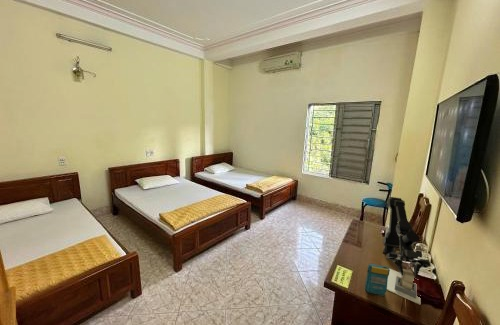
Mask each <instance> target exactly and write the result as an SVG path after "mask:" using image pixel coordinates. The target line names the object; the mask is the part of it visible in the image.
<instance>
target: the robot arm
mask: <svg viewBox="0 0 500 325" xmlns="http://www.w3.org/2000/svg"><path fill="white" fill-rule="evenodd" d="M387 206H388V208H389V209H390V213H389V223H388V225H389V231H388V232H387V233H386V232H385V233H386V236H385V235H384V237H383V238H382V244H383V246H384V248H383V251H382V254H384V255H386V256H385V257H386V260H389V261H392V263H394V264H395V266H396V267H397V269H398V270H399V271H398V272H400V273H401V275H402V276H403V269H404V268H403V262H407V263H413V264H414V265H413V274H414V278H415V279H417V280H418V275H419V273H420V272H419V271H420V270H421V268H426V269H427V268H429V267H431V266H432V265H431V261H429V260H428V259H423V258H422V257H423V252H422V250H417V249H416V250H415V249H414V248H413V245H414V244H416V243H417V242H419V241H420V237H419V235H418V234H417V232H416V231H415V230H414V228H413V226H412V224H411V223H410V221H408V217H407V211H406V203H405V200H404V199H402V198H401V197H396V196H395V197H394V196H390V197H388V198H387ZM397 233H398V234H400V237H399V236H398V234H397ZM396 249H399V251H400V255H399V254H398V253H395V250H396ZM419 258H420V259H419Z"/></svg>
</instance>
